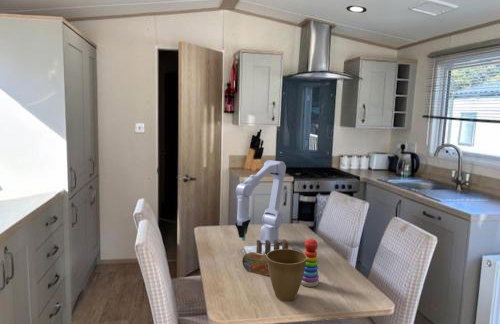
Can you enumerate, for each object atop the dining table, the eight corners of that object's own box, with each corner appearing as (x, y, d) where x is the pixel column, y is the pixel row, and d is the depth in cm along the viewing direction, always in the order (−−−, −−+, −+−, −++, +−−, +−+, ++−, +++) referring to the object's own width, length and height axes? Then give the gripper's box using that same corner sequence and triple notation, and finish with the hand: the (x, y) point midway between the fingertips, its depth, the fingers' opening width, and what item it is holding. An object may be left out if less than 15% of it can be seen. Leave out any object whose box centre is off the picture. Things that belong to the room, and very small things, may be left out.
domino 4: (275, 257, 181) (276, 243, 180) (273, 253, 185) (273, 239, 185) (279, 257, 181) (279, 243, 180) (276, 253, 186) (277, 239, 185)
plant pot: (280, 284, 152) (281, 245, 150) (312, 295, 143) (314, 255, 141) (257, 297, 141) (258, 256, 139) (290, 310, 131) (292, 267, 129)
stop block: (295, 257, 181) (296, 251, 181) (291, 251, 188) (292, 246, 188) (301, 256, 182) (302, 251, 181) (297, 251, 189) (297, 246, 188)
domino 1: (242, 240, 181) (242, 226, 180) (240, 237, 186) (240, 223, 185) (245, 240, 181) (245, 226, 181) (243, 237, 186) (243, 223, 185)
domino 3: (267, 257, 180) (267, 243, 179) (264, 253, 185) (265, 240, 184) (270, 257, 180) (270, 243, 179) (268, 253, 185) (268, 240, 184)
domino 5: (284, 256, 181) (285, 242, 181) (281, 253, 186) (282, 239, 185) (287, 256, 182) (288, 242, 181) (285, 253, 186) (285, 239, 186)
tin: (241, 270, 165) (242, 251, 164) (245, 267, 168) (245, 249, 167) (273, 277, 158) (273, 258, 157) (276, 274, 161) (276, 256, 160)
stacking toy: (295, 282, 154) (296, 238, 152) (308, 277, 159) (310, 234, 157) (309, 289, 148) (312, 243, 146) (322, 283, 153) (325, 239, 151)
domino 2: (258, 257, 179) (258, 243, 178) (256, 254, 184) (256, 240, 183) (261, 257, 180) (261, 243, 179) (259, 254, 184) (259, 240, 183)
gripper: (248, 212, 174) (247, 241, 176) (254, 205, 188) (253, 232, 190) (233, 211, 175) (232, 239, 177) (240, 204, 189) (240, 230, 191)
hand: (242, 235), depth 183 cm, fingers closed on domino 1, 5 cm apart
